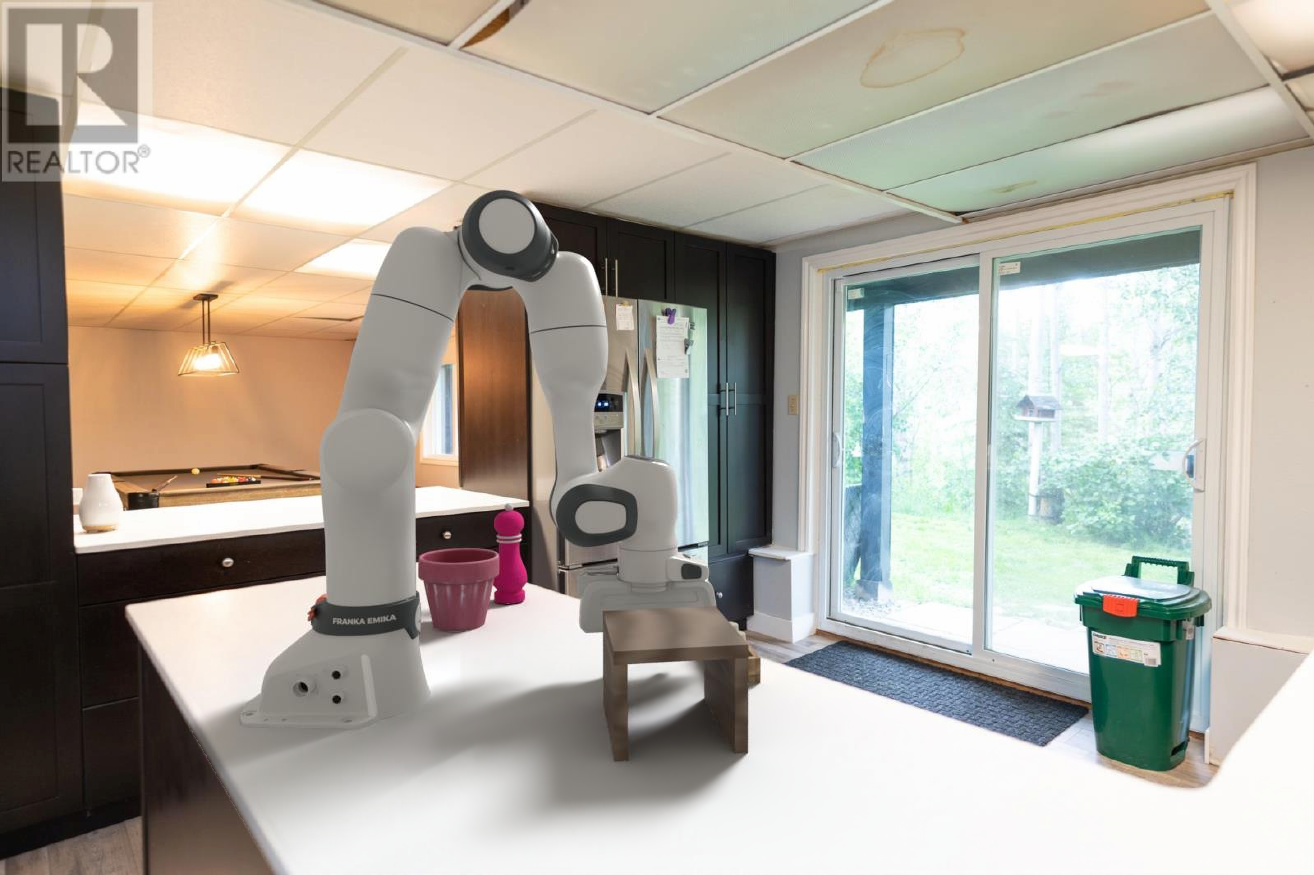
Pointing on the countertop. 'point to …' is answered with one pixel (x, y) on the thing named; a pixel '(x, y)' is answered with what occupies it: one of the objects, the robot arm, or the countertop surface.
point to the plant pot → (458, 586)
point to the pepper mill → (509, 558)
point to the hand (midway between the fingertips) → (647, 658)
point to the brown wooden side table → (676, 641)
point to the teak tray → (751, 660)
